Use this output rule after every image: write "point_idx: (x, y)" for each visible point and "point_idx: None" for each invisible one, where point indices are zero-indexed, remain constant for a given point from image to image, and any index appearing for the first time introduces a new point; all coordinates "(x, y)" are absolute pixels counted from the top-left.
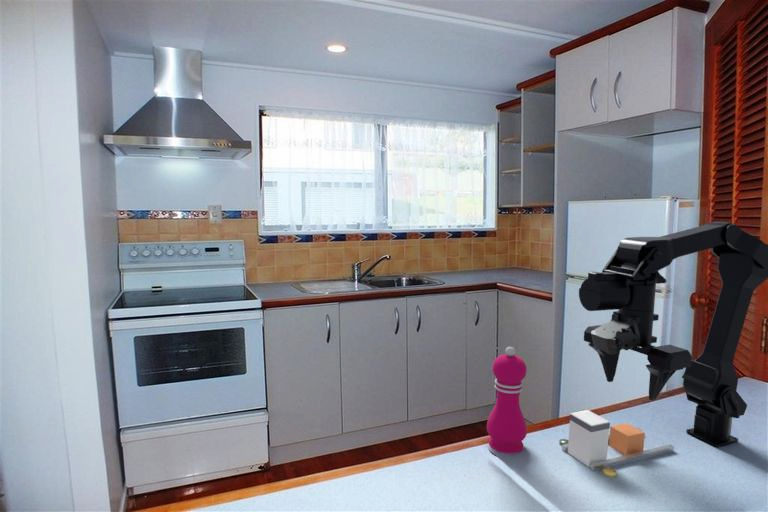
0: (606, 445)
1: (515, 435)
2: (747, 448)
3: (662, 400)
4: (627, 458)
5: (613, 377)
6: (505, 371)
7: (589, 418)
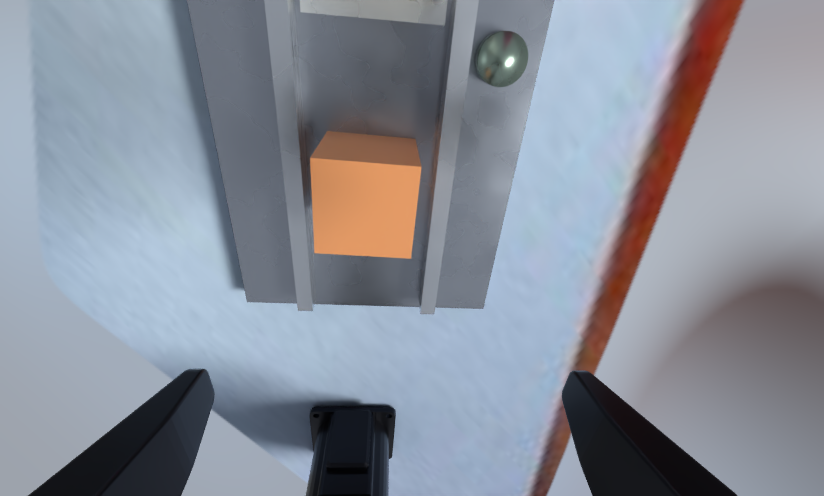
0: None
1: None
2: (288, 445)
3: (529, 473)
4: (274, 86)
5: (572, 425)
6: None
7: None
